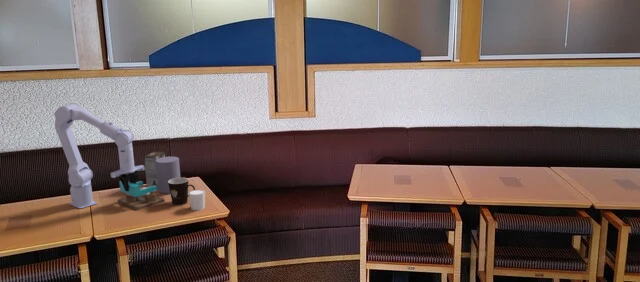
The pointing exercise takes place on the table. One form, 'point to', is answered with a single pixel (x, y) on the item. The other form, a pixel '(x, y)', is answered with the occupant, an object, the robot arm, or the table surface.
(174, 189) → the coffee mug
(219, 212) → the table surface
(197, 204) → the white cylinder
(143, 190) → the teal c-shaped bracket
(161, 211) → the table surface
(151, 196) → the stand
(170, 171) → the container
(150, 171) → the coffee box
